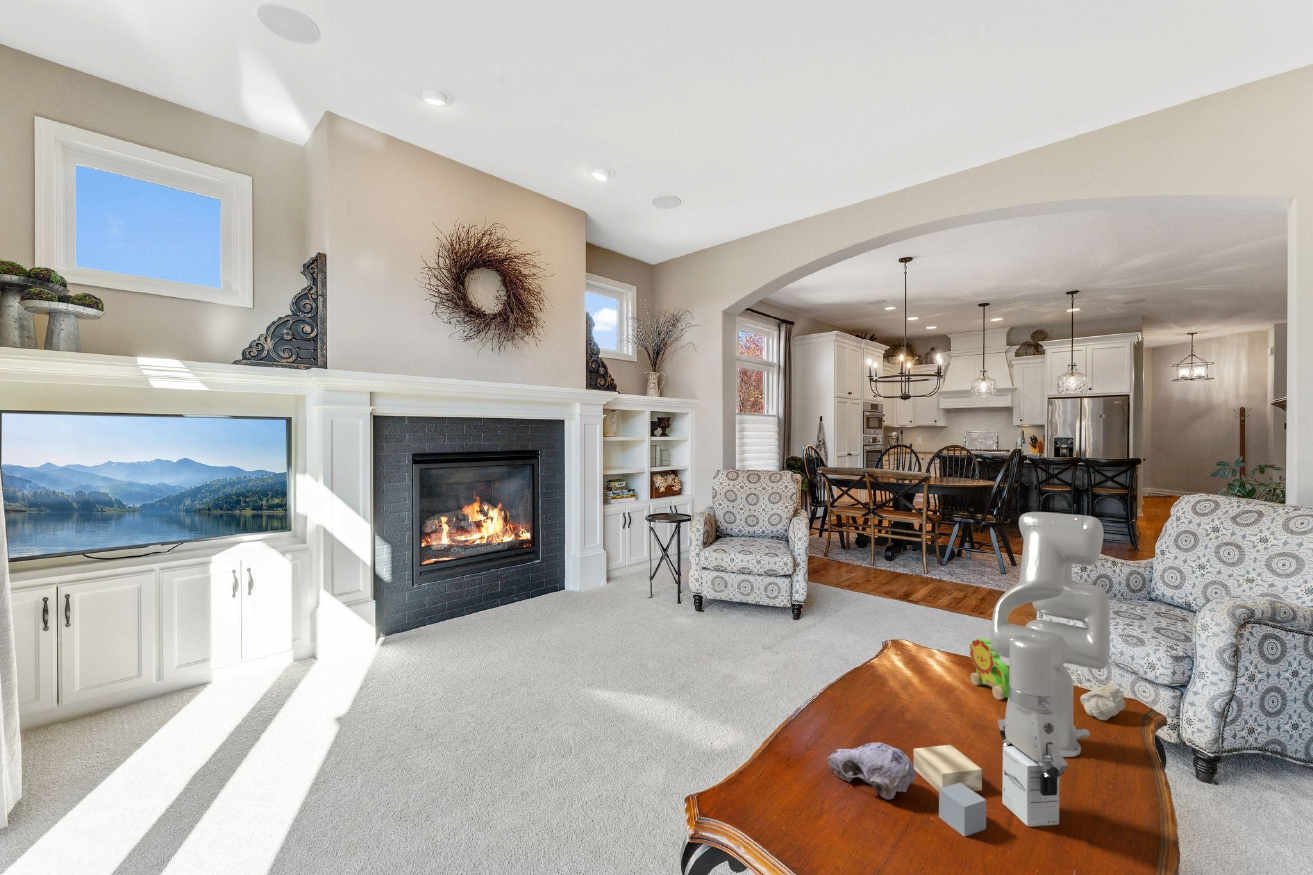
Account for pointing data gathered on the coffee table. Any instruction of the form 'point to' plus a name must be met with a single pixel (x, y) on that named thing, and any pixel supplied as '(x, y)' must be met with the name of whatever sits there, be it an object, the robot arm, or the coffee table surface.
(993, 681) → the toy lion
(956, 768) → the maple block
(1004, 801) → the supplement box
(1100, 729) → the coffee table surface
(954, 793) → the slate block
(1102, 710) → the fossil replica
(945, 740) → the coffee table surface
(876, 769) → the skull
